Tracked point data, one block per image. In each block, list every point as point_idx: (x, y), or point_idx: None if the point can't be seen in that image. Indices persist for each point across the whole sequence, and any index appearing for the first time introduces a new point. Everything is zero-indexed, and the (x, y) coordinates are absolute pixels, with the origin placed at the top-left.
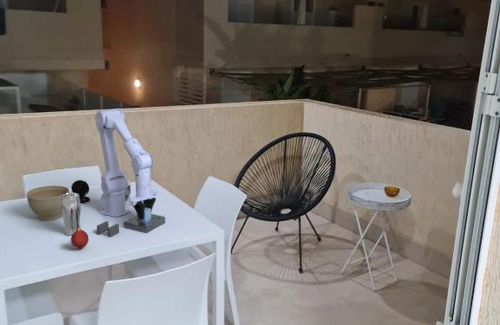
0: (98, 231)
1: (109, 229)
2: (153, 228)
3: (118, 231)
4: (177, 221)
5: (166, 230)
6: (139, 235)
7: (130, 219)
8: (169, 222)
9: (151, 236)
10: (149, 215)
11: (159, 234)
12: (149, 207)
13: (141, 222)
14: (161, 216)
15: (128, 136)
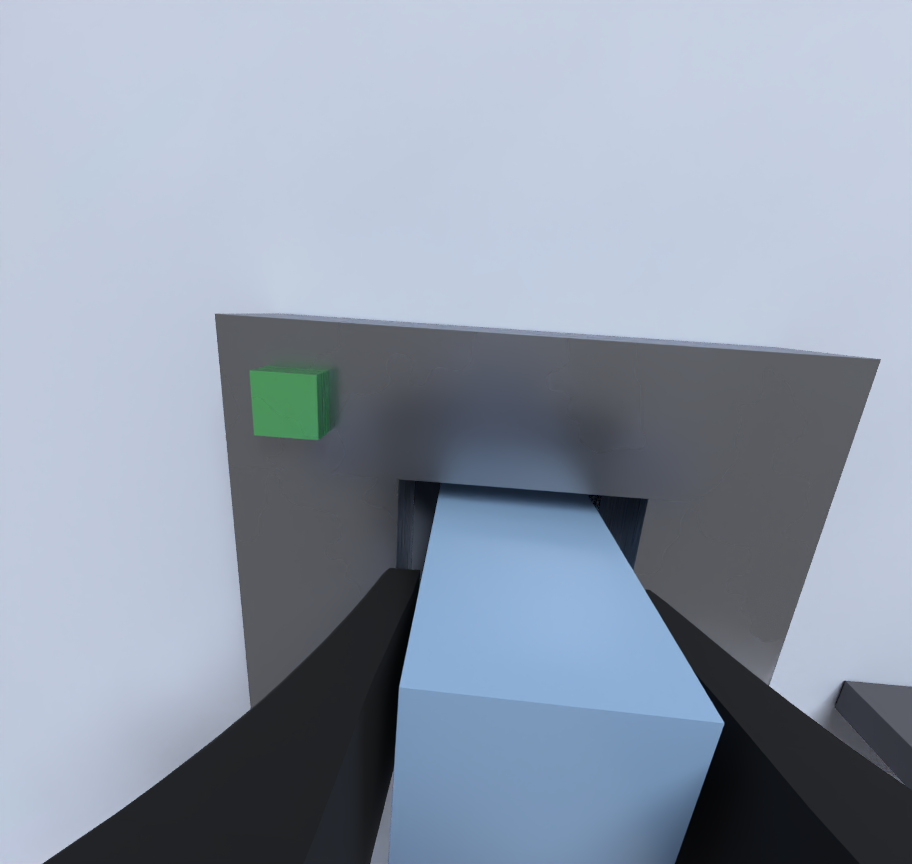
0: None
1: None
2: (600, 336)
3: (880, 702)
4: (110, 149)
5: (552, 87)
6: (882, 401)
7: None
8: (225, 261)
9: (888, 189)
10: (488, 561)
11: (767, 100)
12: (356, 767)
13: (675, 565)
14: (270, 370)
15: None
